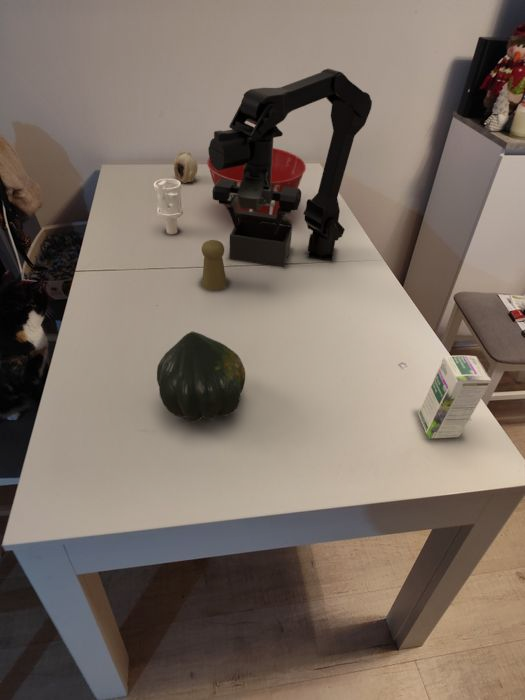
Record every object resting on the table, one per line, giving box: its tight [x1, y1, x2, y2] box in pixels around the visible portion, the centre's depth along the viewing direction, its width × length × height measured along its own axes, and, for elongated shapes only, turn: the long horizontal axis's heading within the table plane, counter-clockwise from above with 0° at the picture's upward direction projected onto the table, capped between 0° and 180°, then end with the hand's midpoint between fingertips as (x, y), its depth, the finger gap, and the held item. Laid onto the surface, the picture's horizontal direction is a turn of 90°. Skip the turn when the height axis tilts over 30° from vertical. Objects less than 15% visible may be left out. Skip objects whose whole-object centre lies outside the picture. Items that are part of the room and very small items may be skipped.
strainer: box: [153, 178, 184, 235], centre depth 122 cm, size 7×7×15 cm
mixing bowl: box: [206, 147, 307, 222], centre depth 133 cm, size 28×28×16 cm
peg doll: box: [201, 239, 228, 291], centre depth 105 cm, size 6×6×11 cm
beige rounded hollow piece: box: [173, 150, 199, 184], centre depth 152 cm, size 9×8×10 cm
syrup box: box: [417, 354, 492, 439], centre depth 74 cm, size 6×6×14 cm
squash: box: [156, 330, 246, 423], centre depth 77 cm, size 14×15×15 cm
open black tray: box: [229, 219, 293, 268], centre depth 118 cm, size 10×15×7 cm, turn 78°
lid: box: [238, 200, 293, 227], centre depth 113 cm, size 10×15×5 cm
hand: (255, 230), depth 102 cm, fingers open, 9 cm apart
